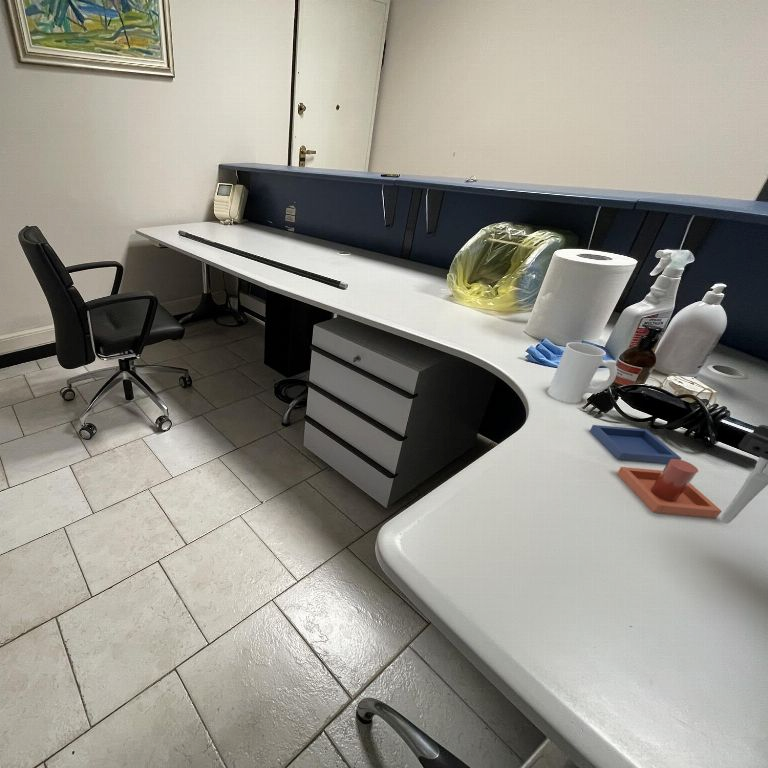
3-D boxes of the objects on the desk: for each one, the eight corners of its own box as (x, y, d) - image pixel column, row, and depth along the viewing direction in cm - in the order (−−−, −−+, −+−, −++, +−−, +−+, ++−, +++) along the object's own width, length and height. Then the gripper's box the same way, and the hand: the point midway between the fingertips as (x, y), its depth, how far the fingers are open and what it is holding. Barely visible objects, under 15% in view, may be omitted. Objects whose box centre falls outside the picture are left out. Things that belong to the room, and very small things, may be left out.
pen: (738, 521, 53) (812, 435, 46) (738, 533, 51) (814, 445, 44) (711, 511, 54) (778, 425, 47) (710, 521, 53) (779, 435, 46)
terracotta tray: (670, 481, 68) (677, 471, 67) (714, 521, 61) (722, 511, 60) (615, 476, 69) (621, 466, 68) (651, 514, 62) (658, 505, 61)
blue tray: (641, 437, 79) (646, 429, 78) (675, 467, 71) (681, 458, 70) (588, 433, 80) (592, 424, 78) (616, 462, 72) (621, 453, 71)
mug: (543, 397, 91) (564, 348, 85) (548, 386, 96) (568, 339, 90) (598, 414, 85) (625, 363, 79) (601, 401, 90) (626, 352, 84)
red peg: (666, 488, 66) (687, 459, 63) (682, 502, 63) (704, 473, 60) (645, 486, 66) (664, 457, 63) (659, 500, 63) (680, 471, 60)
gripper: (1070, 482, 37) (788, 394, 50) (1058, 543, 31) (744, 425, 44) (994, 538, 40) (751, 443, 54) (972, 601, 35) (706, 477, 48)
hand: (749, 435), depth 49 cm, fingers closed on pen, 2 cm apart
